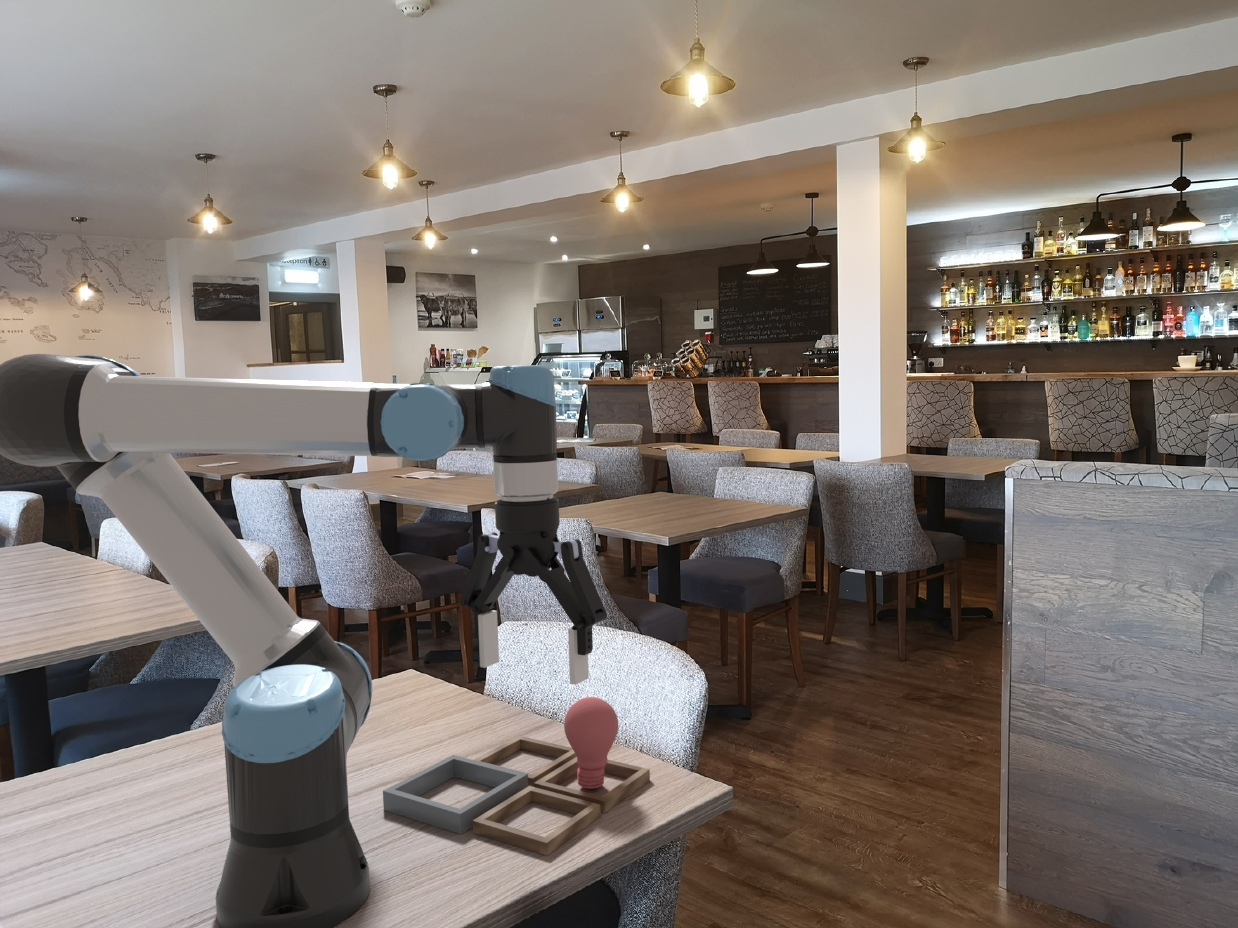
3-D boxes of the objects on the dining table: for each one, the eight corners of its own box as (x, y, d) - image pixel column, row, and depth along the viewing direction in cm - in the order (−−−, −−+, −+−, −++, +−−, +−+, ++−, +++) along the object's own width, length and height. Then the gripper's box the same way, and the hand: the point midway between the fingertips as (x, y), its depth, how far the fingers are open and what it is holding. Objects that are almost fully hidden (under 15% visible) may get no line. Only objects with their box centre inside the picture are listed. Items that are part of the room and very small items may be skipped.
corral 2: (533, 789, 122) (532, 778, 122) (469, 772, 128) (469, 761, 128) (580, 759, 132) (580, 749, 131) (519, 745, 137) (518, 735, 137)
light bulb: (622, 776, 126) (620, 689, 125) (616, 799, 119) (614, 708, 118) (570, 775, 127) (567, 689, 126) (562, 798, 119) (559, 707, 118)
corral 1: (461, 834, 111) (460, 813, 110) (383, 809, 117) (382, 790, 117) (528, 792, 121) (527, 773, 121) (453, 772, 128) (453, 754, 128)
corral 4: (604, 812, 115) (604, 801, 115) (534, 793, 121) (534, 782, 121) (649, 779, 124) (649, 769, 124) (582, 763, 130) (581, 753, 130)
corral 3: (547, 855, 105) (546, 842, 105) (473, 832, 111) (472, 820, 111) (600, 816, 114) (600, 804, 114) (529, 796, 120) (529, 785, 120)
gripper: (633, 497, 106) (638, 679, 108) (468, 489, 119) (475, 650, 121) (596, 505, 100) (601, 698, 101) (427, 495, 113) (434, 666, 115)
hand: (533, 672), depth 111 cm, fingers open, 13 cm apart
